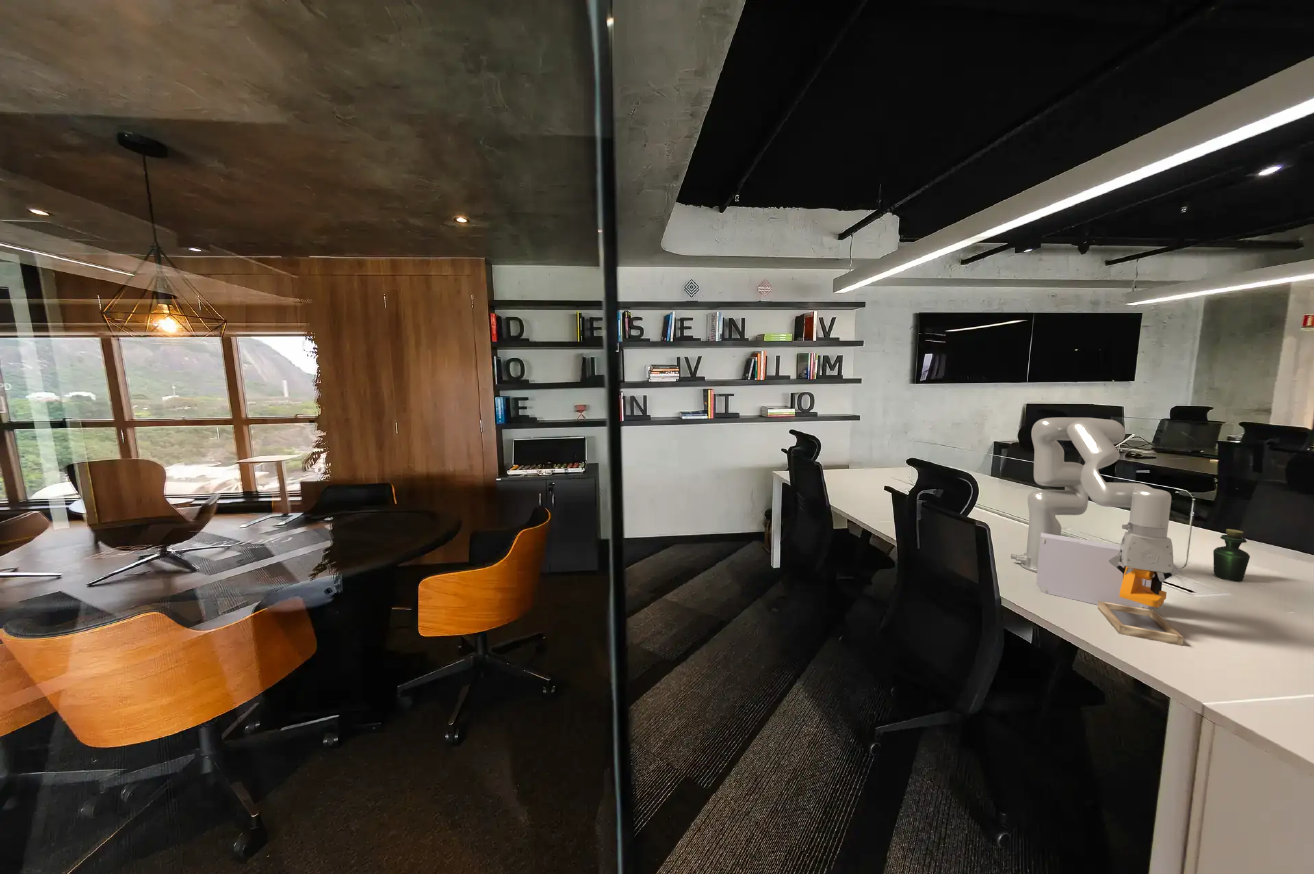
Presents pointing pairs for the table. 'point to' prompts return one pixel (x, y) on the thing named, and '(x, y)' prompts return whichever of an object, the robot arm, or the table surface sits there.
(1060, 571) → the game console
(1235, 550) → the potion bottle
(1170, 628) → the wooden tray
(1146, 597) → the bracket
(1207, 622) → the table surface
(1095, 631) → the table surface
